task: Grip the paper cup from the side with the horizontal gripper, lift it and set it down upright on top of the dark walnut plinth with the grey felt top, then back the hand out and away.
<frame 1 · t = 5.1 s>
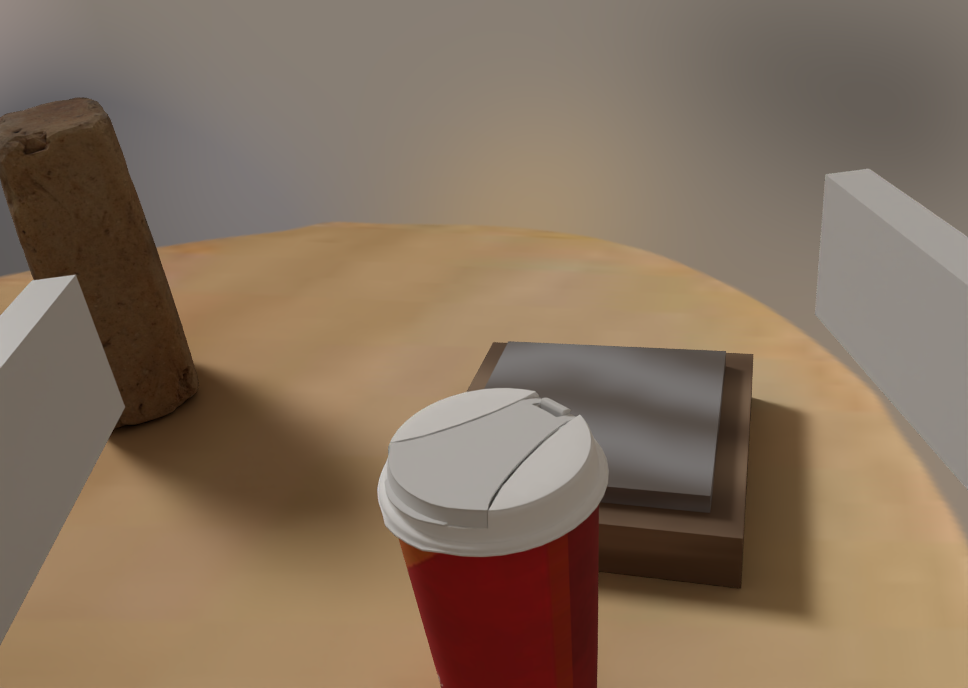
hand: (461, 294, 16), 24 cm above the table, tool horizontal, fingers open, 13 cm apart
block: (144, 394, 63), on the table
plinth: (597, 466, 50), on the table
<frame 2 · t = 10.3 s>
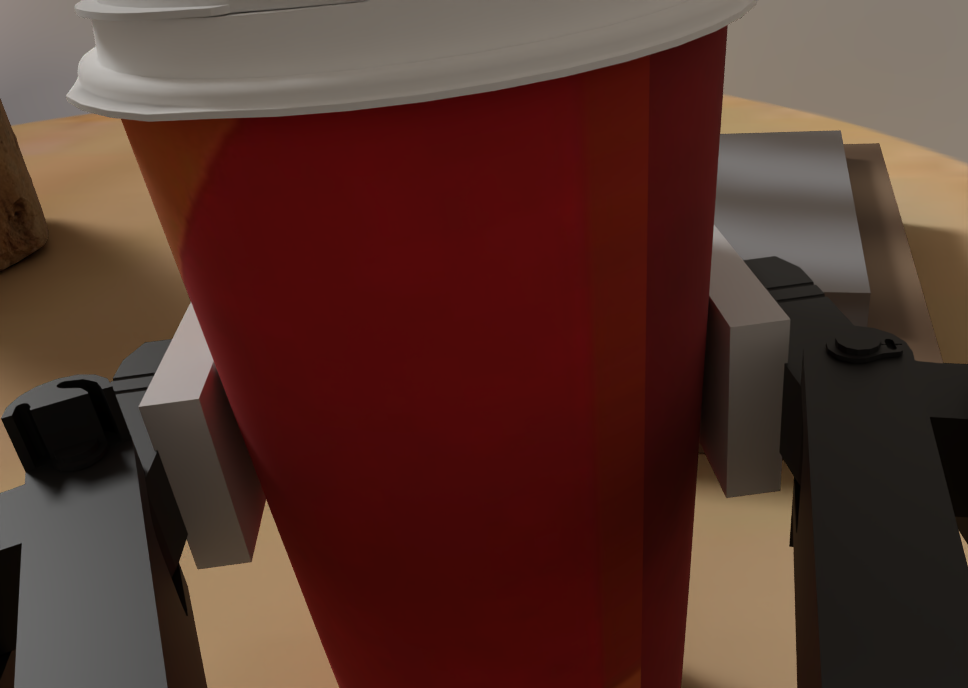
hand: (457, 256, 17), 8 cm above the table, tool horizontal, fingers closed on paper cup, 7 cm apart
plinth: (638, 307, 31), on the table
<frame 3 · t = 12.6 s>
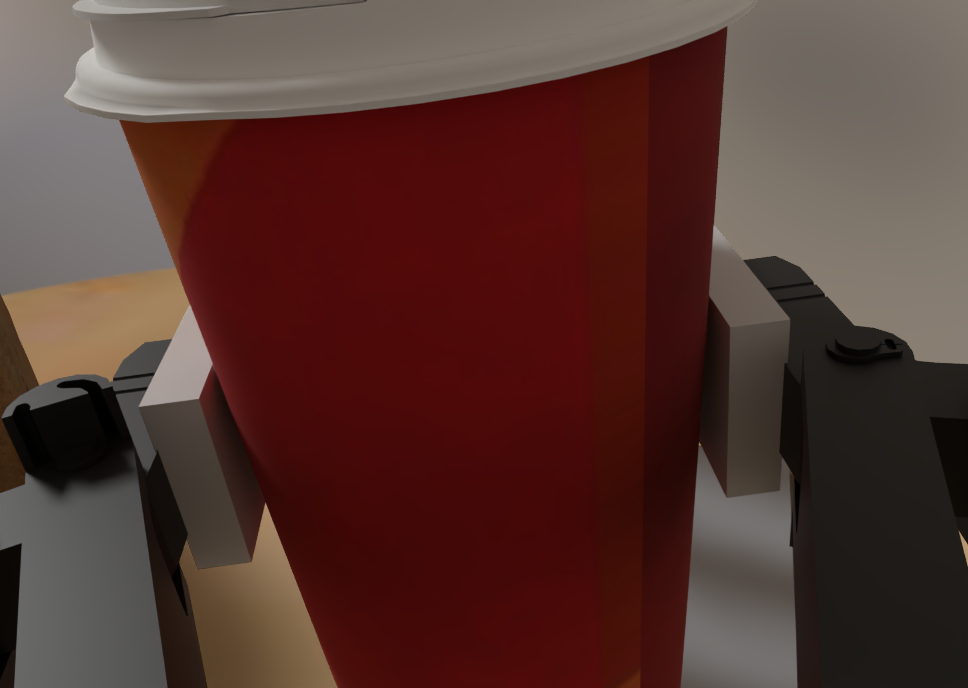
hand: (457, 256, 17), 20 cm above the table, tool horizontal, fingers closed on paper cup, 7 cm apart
block: (1, 496, 47), on the table
plinth: (610, 625, 35), on the table
when the fingers open (13 cm above the table, at t = 15.3 s): paper cup moves 4 cm, resting on plinth.
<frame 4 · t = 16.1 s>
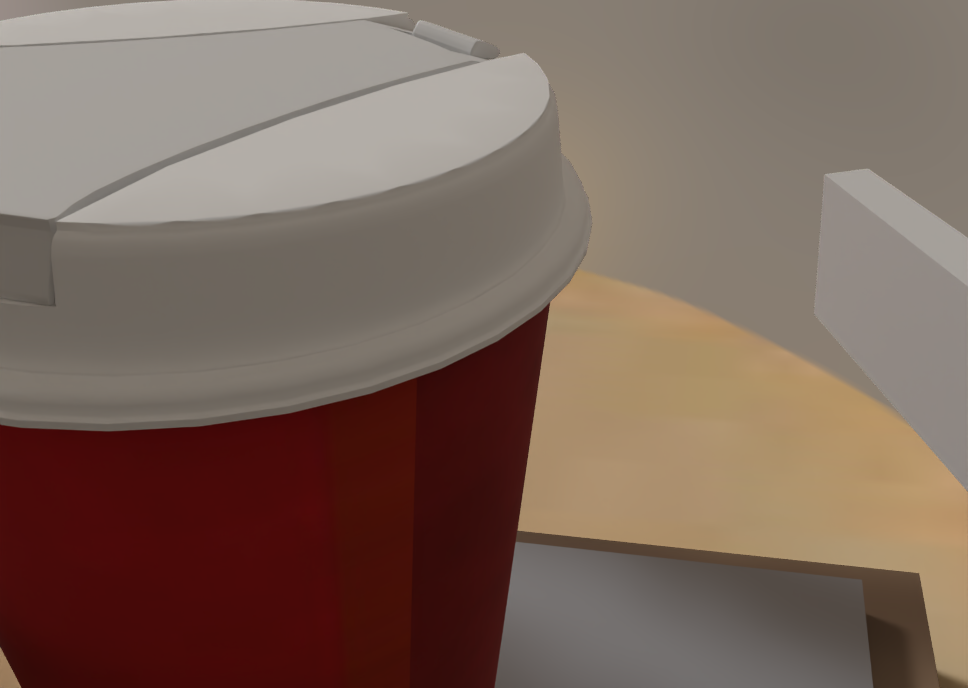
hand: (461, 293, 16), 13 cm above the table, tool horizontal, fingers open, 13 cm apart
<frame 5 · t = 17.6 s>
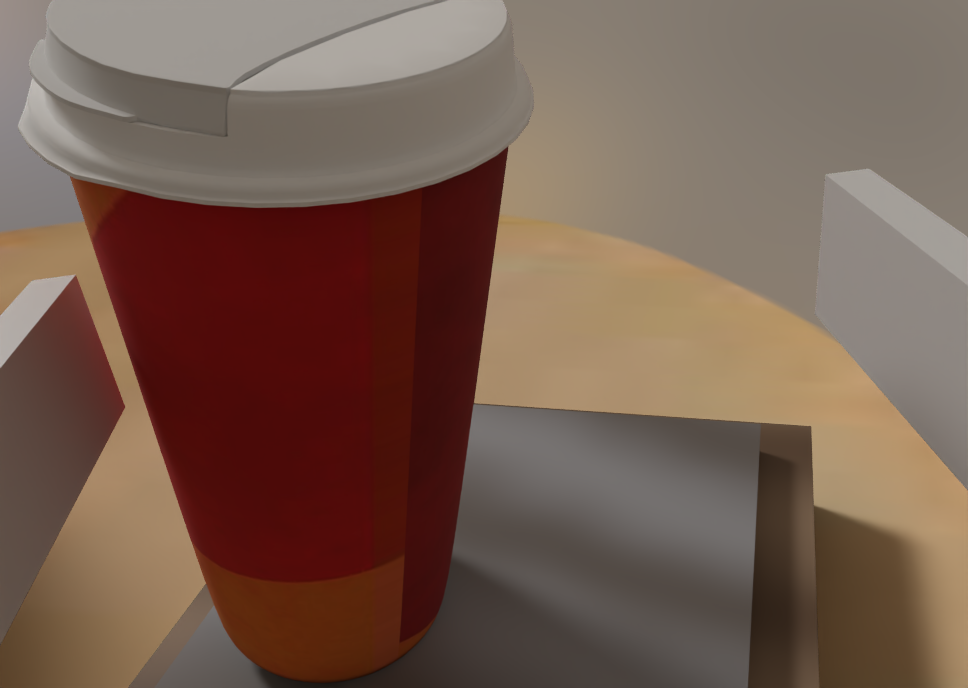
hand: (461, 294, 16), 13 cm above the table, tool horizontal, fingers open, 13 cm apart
plinth: (508, 655, 25), on the table
paper cup: (331, 587, 22), point 4 cm above the table, touching plinth
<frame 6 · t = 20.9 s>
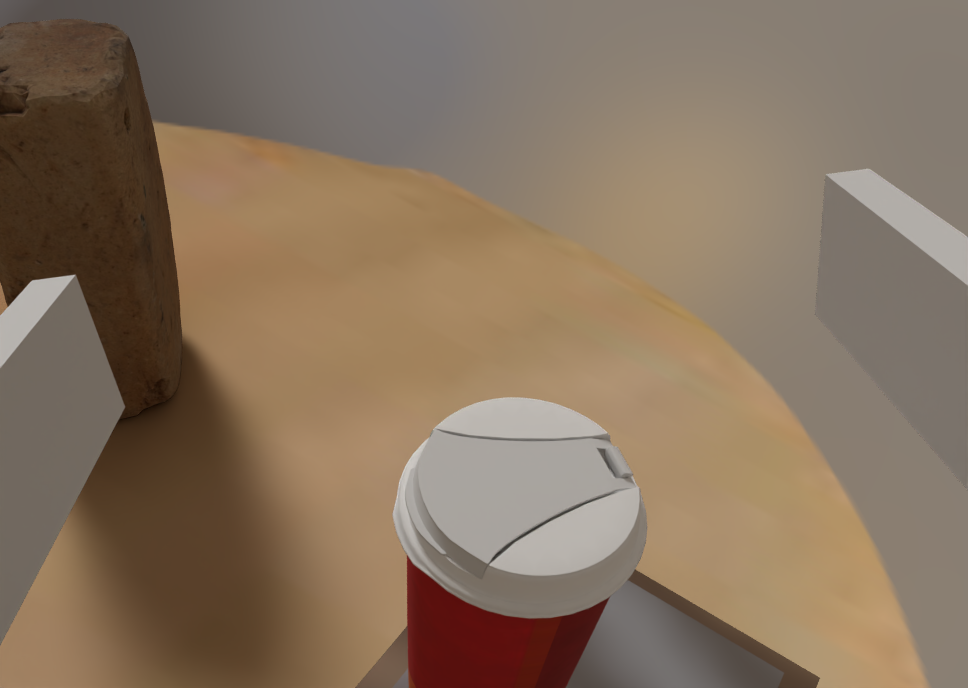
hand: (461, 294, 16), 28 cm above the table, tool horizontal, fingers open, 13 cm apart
block: (120, 368, 53), on the table
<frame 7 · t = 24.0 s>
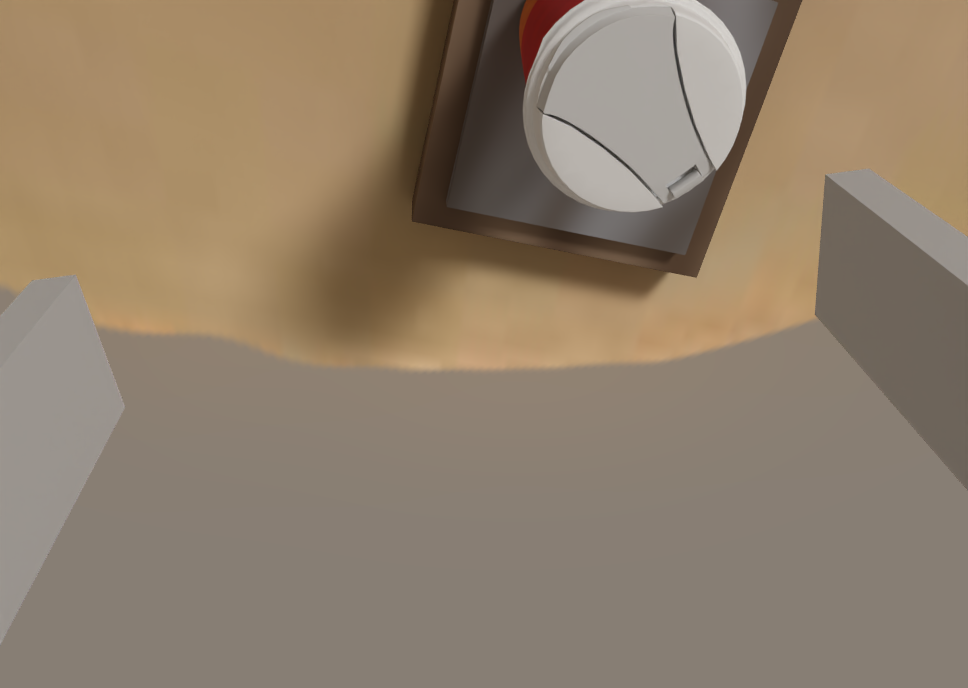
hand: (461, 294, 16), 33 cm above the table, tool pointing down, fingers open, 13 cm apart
plinth: (591, 90, 47), on the table
paper cup: (576, 24, 41), point 4 cm above the table, touching plinth
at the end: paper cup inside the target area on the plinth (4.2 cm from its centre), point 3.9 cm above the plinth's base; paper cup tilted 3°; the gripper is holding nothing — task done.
